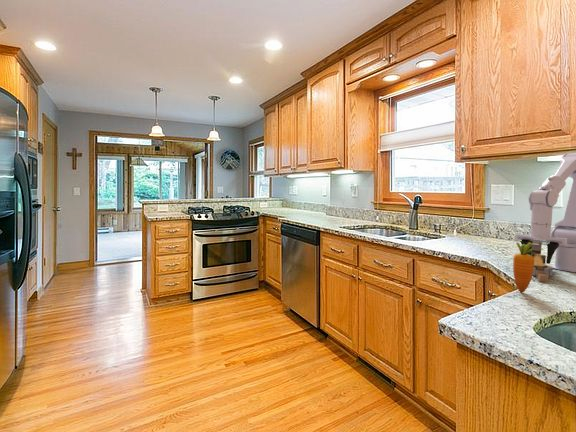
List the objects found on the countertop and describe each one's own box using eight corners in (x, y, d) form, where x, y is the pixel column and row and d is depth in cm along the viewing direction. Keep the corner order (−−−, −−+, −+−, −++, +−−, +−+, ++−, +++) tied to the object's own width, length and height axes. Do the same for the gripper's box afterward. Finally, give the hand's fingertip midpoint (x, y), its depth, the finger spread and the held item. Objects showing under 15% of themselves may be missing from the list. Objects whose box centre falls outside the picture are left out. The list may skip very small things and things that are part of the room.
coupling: (516, 267, 126) (516, 259, 126) (566, 277, 113) (567, 268, 112) (495, 272, 119) (495, 264, 118) (546, 283, 105) (546, 274, 105)
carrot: (507, 289, 98) (510, 240, 96) (524, 290, 98) (527, 240, 96) (518, 295, 93) (521, 243, 92) (536, 295, 93) (540, 243, 91)
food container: (520, 264, 132) (522, 239, 132) (540, 266, 129) (541, 241, 128) (518, 269, 123) (520, 243, 122) (538, 272, 119) (540, 245, 118)
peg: (528, 273, 117) (529, 254, 117) (534, 272, 119) (535, 253, 119) (540, 276, 114) (542, 256, 113) (546, 274, 116) (548, 255, 115)
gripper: (513, 222, 118) (511, 259, 119) (565, 226, 107) (562, 267, 108) (519, 221, 123) (517, 257, 124) (569, 225, 111) (566, 264, 113)
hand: (538, 261), depth 116 cm, fingers open, 5 cm apart
